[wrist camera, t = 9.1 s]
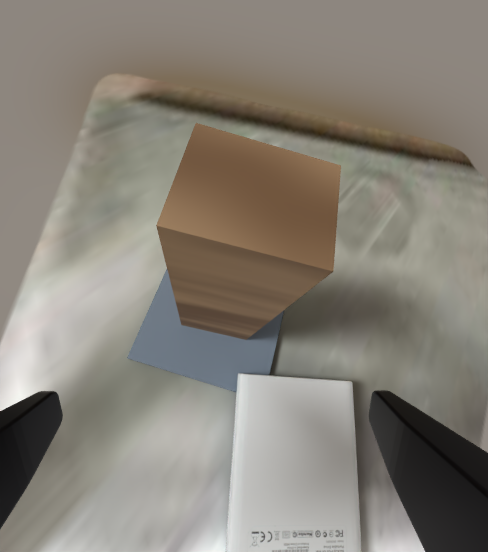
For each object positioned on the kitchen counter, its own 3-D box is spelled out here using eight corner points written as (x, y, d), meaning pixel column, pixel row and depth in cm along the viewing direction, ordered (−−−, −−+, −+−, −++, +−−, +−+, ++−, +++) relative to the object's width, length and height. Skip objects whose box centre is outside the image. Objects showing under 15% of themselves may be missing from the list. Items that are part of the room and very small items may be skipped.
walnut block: (246, 339, 20) (332, 271, 8) (181, 325, 20) (156, 225, 7) (255, 291, 22) (340, 165, 9) (195, 276, 22) (195, 122, 9)
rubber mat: (261, 400, 20) (263, 400, 19) (128, 358, 19) (127, 358, 19) (292, 269, 24) (294, 266, 23) (184, 232, 23) (184, 229, 23)
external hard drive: (342, 380, 20) (352, 596, 16) (236, 372, 19) (220, 602, 15) (354, 381, 19) (368, 620, 15) (240, 373, 18) (222, 629, 14)
